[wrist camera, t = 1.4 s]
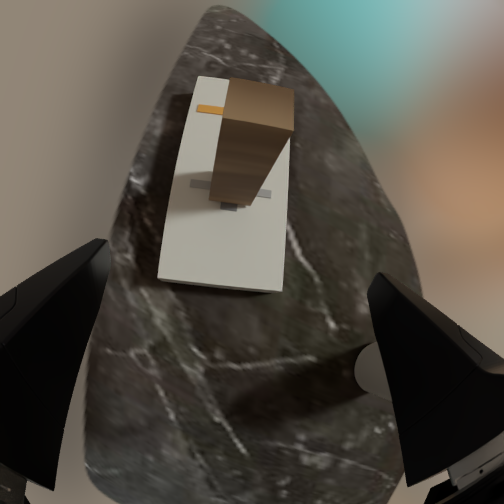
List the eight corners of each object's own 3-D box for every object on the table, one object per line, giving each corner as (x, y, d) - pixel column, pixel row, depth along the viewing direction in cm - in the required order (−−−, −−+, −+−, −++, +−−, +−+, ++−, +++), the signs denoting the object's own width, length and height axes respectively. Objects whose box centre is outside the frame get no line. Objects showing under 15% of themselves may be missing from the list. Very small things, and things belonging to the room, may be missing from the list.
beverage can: (384, 394, 23) (481, 425, 11) (343, 387, 22) (442, 427, 11) (399, 345, 24) (501, 354, 13) (360, 334, 24) (467, 343, 12)
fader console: (272, 293, 23) (282, 291, 20) (161, 280, 21) (157, 277, 19) (283, 107, 27) (291, 91, 24) (197, 92, 25) (198, 75, 23)
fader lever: (250, 206, 21) (293, 130, 12) (208, 200, 20) (222, 117, 11) (253, 175, 21) (294, 89, 12) (213, 168, 21) (229, 77, 11)
